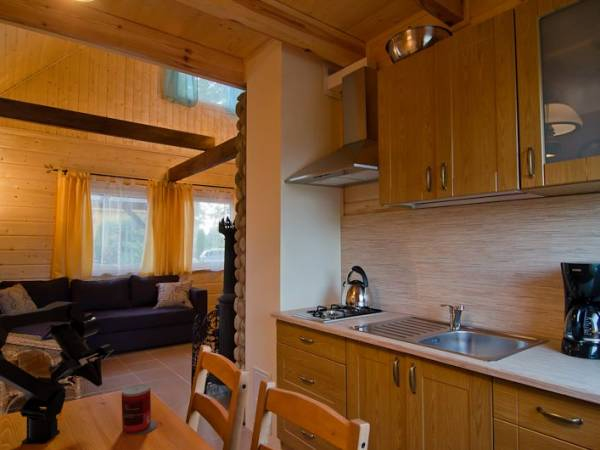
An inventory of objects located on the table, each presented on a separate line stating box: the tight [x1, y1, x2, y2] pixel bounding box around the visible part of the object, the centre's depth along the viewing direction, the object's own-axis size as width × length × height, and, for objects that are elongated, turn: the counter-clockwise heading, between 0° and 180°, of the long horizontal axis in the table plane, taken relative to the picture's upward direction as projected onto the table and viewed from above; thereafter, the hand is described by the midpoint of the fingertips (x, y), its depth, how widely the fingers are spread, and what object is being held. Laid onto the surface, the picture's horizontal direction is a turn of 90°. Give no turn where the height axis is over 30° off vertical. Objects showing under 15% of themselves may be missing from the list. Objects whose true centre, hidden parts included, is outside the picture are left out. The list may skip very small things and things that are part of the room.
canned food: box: [121, 383, 152, 435], centre depth 110 cm, size 8×8×11 cm
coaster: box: [134, 420, 158, 435], centre depth 110 cm, size 8×8×1 cm
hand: (100, 385), depth 110 cm, fingers closed
